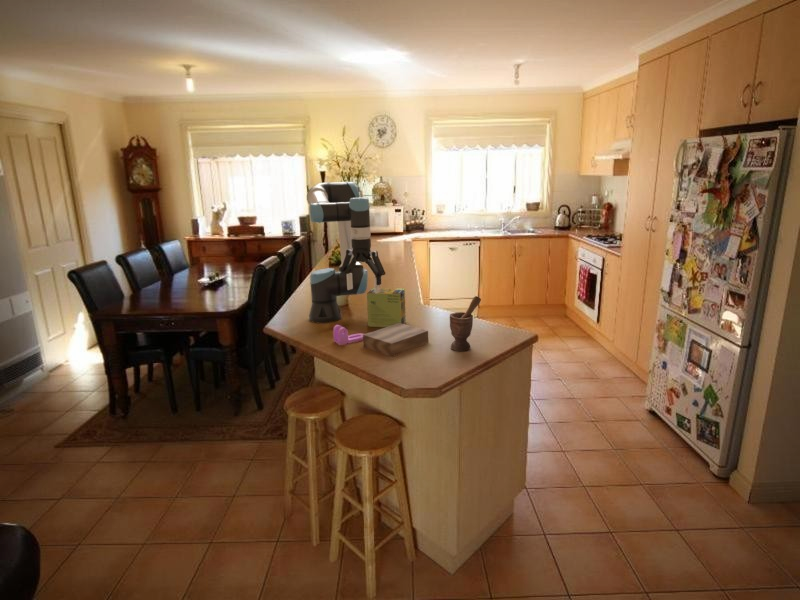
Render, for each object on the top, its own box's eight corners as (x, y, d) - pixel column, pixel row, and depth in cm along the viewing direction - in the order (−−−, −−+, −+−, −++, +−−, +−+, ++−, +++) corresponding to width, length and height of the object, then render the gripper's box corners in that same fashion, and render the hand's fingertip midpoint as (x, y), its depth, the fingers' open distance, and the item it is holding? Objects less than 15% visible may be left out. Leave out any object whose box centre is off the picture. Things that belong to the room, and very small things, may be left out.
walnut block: (363, 346, 185) (362, 334, 184) (399, 334, 199) (399, 322, 198) (391, 356, 174) (391, 343, 173) (428, 342, 188) (428, 330, 187)
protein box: (401, 328, 207) (400, 293, 204) (367, 326, 211) (366, 292, 207) (406, 321, 217) (405, 288, 214) (373, 320, 220) (372, 287, 217)
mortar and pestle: (468, 341, 188) (468, 292, 183) (483, 347, 181) (484, 296, 176) (445, 347, 182) (445, 297, 177) (460, 353, 175) (460, 301, 170)
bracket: (340, 345, 188) (339, 329, 186) (333, 342, 192) (332, 325, 191) (368, 339, 195) (367, 322, 193) (361, 335, 199) (361, 319, 198)
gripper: (330, 237, 188) (333, 289, 194) (381, 240, 175) (384, 296, 181) (342, 235, 194) (345, 285, 200) (393, 238, 181) (394, 292, 187)
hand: (363, 291), depth 190 cm, fingers open, 13 cm apart
